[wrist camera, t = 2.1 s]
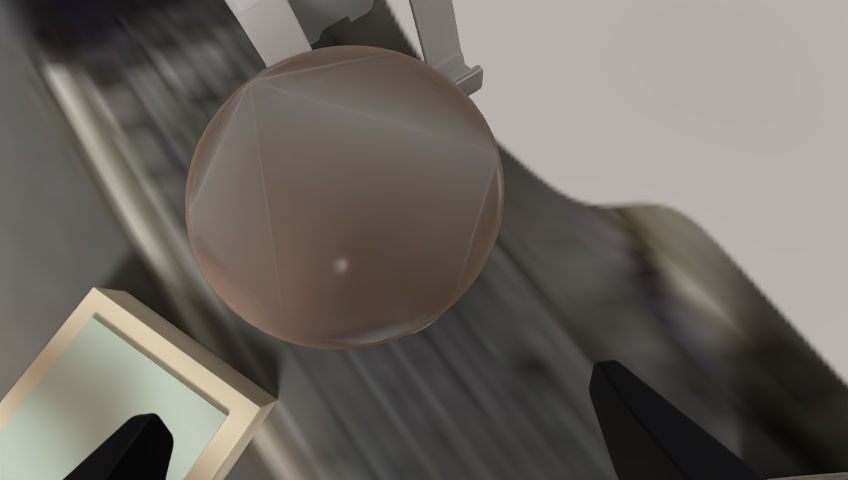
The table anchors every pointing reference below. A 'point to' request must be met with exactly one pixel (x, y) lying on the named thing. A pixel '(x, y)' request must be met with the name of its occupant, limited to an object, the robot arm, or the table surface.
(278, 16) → the portable electronic device stand
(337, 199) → the tumbler
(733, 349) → the table surface
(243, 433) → the square tray
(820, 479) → the skincare box
